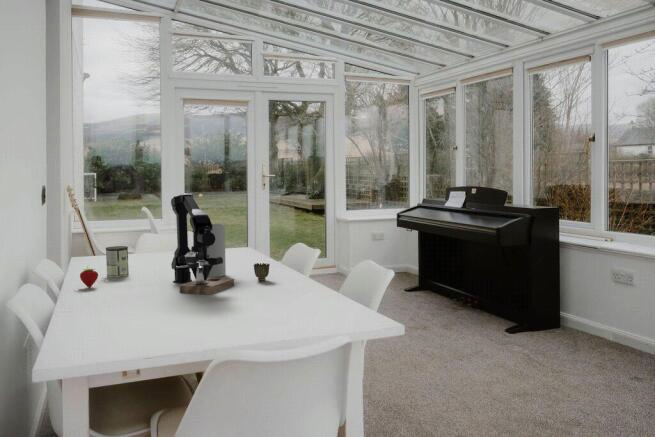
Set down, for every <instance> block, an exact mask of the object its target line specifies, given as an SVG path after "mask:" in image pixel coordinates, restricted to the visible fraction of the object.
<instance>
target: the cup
mask: <svg viewBox="0 0 655 437" xmlns="http://www.w3.org/2000/svg"><path fill="white" fill-rule="evenodd" d="M253 272H254V276H255V277H256V278H257V281H258V282H266V278H267V277H268V276H269V273H270V263H266V262H265V263H264V262H263V263H261V262H260V263H258V262H256V263H254V264H253Z"/></svg>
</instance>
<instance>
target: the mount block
mask: <svg viewBox="0 0 655 437" xmlns="http://www.w3.org/2000/svg"><path fill="white" fill-rule="evenodd" d="M234 286H235V278H231V277H229V278H228V277H208V278H207V280H206V285H204V286H201V285H196V279H194V280H192V281H189V282H186V283H182V284H180V285H179V293H180V294H181V293H182V294H183V293H184V294H197V295H207V296H209V295H211V294H214V293H217V292H219V291H220V292H221V291H222V290H225V289H228V288H231V287H234Z"/></svg>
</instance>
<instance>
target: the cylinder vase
mask: <svg viewBox="0 0 655 437" xmlns="http://www.w3.org/2000/svg"><path fill="white" fill-rule="evenodd" d="M212 226H213V227H212V230H211V233H213V234H214V236H215V242H214V244H213V245H211V246H209V248H207V255H209V257H208V258H210V257H214V256H217V257H222V259H223V263H222V264H218V265H213V267H212V269H211V271H210V273H209V275H208V277H217V278H223V277H224V276H225V275H226V274H227V272H226V271H227V270H226V224H223V223H221V224H220V223H212ZM202 265H205V262H199V267H200V266H202Z"/></svg>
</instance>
